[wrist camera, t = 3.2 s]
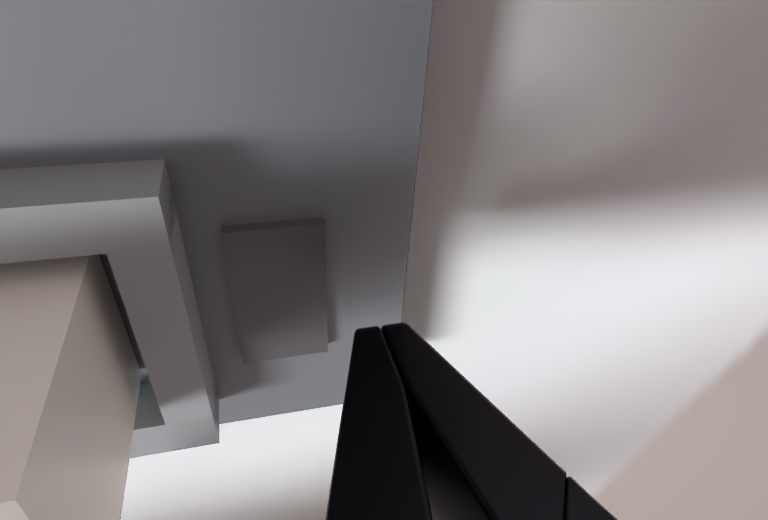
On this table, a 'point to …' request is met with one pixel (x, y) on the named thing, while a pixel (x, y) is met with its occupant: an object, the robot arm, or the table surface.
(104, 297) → the tab
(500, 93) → the table surface
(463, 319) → the table surface
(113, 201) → the switch board
